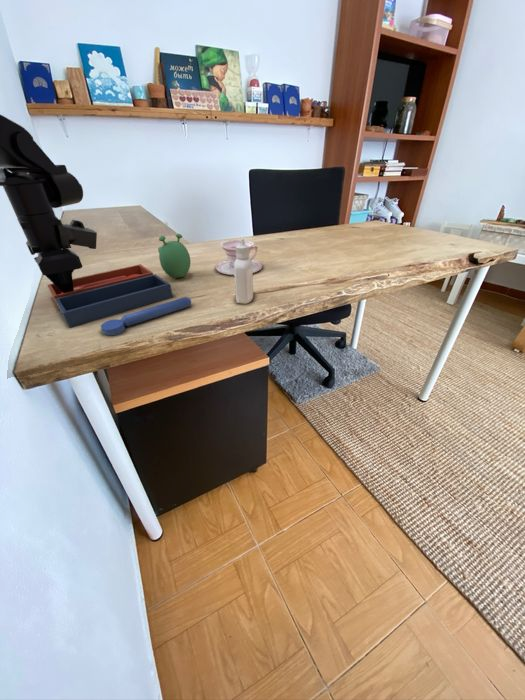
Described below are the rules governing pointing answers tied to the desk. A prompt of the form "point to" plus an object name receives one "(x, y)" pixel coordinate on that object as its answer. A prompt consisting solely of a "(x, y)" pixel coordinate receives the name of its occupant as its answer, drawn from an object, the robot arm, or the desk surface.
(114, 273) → the far bin
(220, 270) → the teacup
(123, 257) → the desk surface
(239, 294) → the eye dropper bottle
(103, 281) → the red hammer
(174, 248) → the alien toy
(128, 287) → the near bin
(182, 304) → the blue spoon
